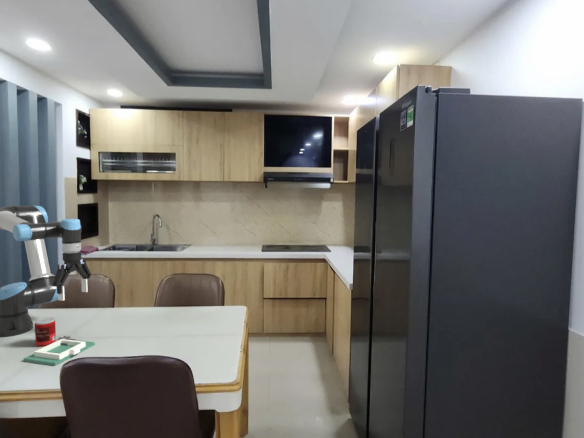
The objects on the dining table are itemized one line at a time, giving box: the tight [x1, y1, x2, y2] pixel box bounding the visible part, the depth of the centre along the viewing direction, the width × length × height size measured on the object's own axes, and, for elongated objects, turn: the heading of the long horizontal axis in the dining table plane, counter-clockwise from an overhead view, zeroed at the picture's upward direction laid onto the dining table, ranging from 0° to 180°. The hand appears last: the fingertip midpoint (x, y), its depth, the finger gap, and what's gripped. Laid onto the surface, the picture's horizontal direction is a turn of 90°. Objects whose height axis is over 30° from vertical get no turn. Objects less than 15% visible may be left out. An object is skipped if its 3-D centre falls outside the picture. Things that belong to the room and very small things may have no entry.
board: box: [23, 337, 96, 367], centre depth 149 cm, size 18×20×3 cm
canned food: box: [34, 316, 57, 348], centre depth 158 cm, size 8×8×11 cm
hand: (73, 295), depth 164 cm, fingers open, 13 cm apart
